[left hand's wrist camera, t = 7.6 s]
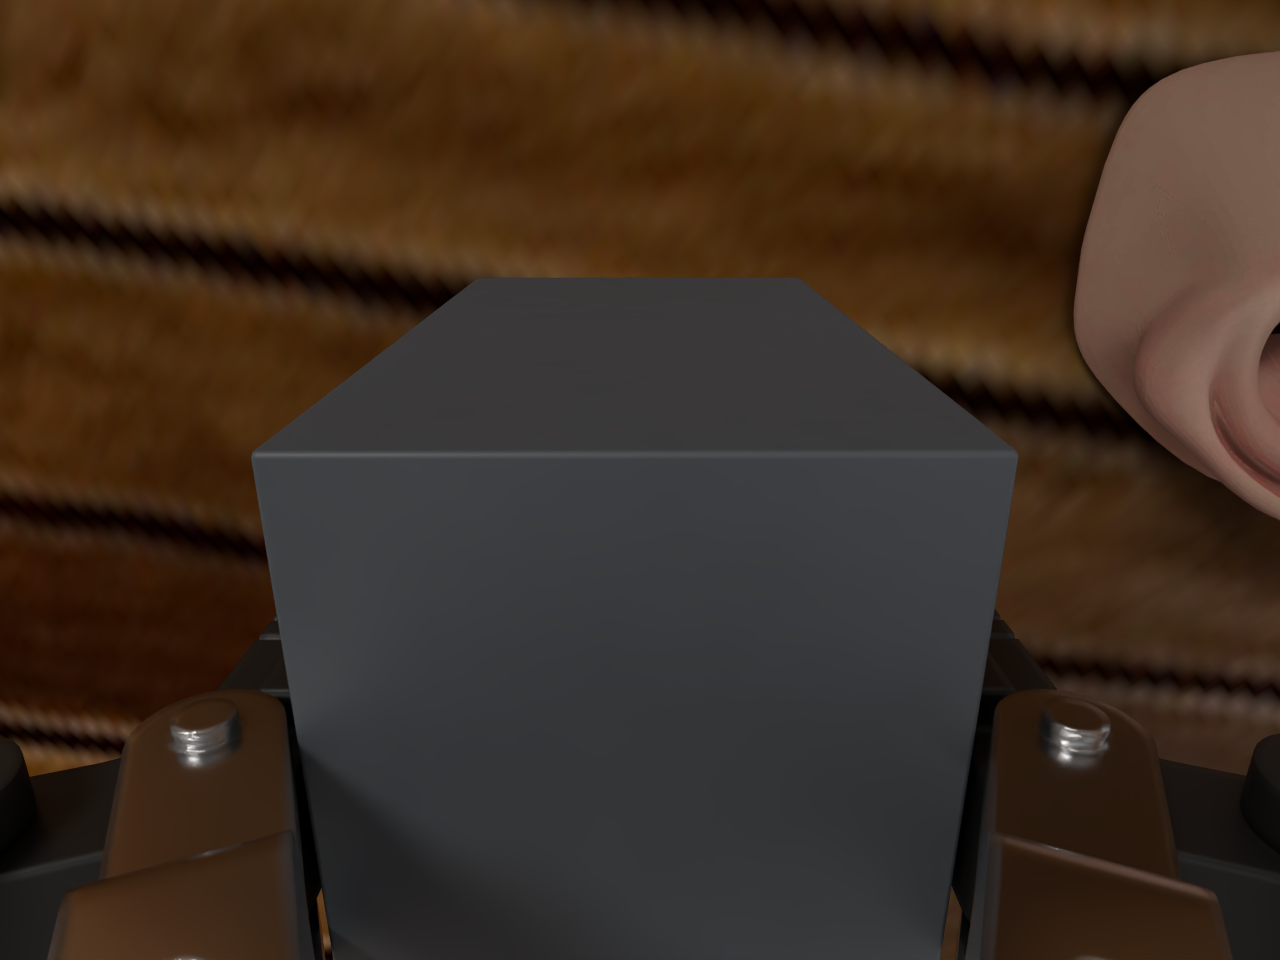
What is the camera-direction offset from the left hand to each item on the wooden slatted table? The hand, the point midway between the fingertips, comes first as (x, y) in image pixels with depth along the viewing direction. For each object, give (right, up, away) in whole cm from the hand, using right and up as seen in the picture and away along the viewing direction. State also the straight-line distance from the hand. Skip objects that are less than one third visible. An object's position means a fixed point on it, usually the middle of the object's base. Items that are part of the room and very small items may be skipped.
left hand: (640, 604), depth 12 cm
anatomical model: (+18, +7, +13) cm, 23 cm away
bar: (0, -6, +8) cm, 10 cm away
